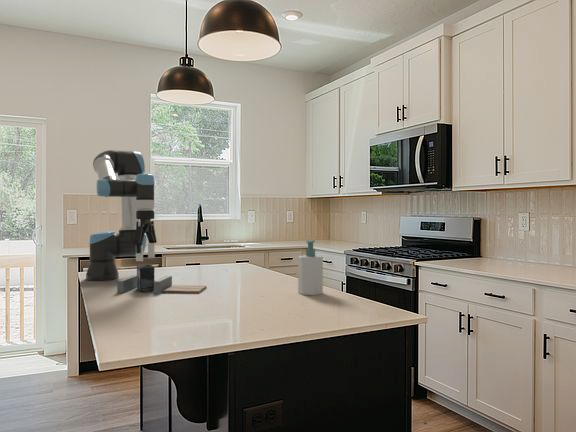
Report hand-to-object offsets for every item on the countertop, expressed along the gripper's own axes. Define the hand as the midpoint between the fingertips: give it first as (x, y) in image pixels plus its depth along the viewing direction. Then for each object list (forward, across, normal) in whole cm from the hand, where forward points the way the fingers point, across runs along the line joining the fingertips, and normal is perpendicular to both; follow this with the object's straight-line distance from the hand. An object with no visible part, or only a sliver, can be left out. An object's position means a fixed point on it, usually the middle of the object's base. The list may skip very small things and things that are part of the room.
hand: (145, 259), depth 199 cm
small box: (+13, 0, 0) cm, 13 cm away
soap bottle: (+14, +2, +71) cm, 72 cm away
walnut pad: (+13, 0, +17) cm, 22 cm away
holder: (+13, 0, 0) cm, 13 cm away
